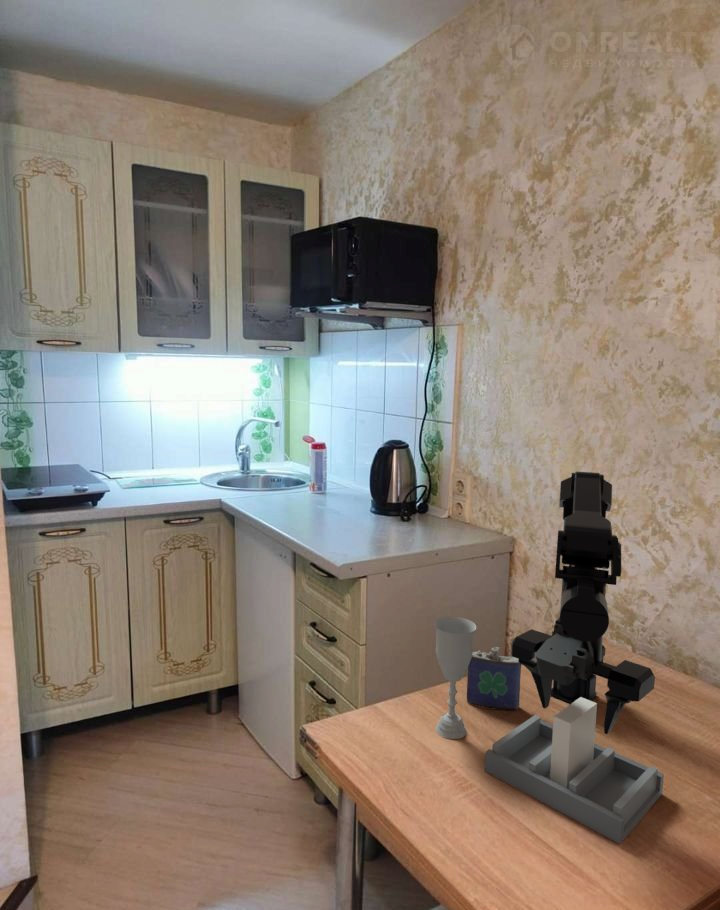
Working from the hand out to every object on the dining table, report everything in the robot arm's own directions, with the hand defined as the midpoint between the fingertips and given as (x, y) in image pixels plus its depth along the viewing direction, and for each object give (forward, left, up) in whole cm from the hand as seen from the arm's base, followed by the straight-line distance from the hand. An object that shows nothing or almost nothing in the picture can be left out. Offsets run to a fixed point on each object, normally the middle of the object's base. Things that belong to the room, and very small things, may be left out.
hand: (575, 719), depth 88 cm
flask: (-20, +10, -10) cm, 25 cm away
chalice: (-20, -2, -10) cm, 22 cm away
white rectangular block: (0, 0, -9) cm, 9 cm away
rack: (0, 0, -10) cm, 10 cm away
